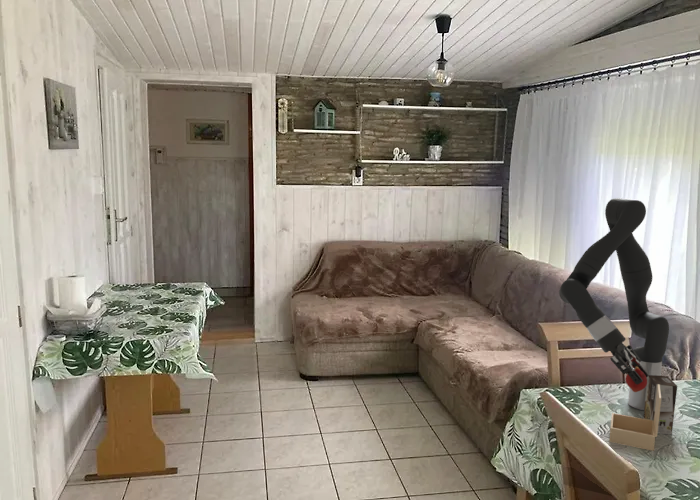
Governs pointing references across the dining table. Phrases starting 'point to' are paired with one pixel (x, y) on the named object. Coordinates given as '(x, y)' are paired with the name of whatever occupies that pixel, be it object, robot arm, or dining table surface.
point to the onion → (632, 384)
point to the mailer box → (636, 428)
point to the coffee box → (667, 402)
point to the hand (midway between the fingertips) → (642, 380)
